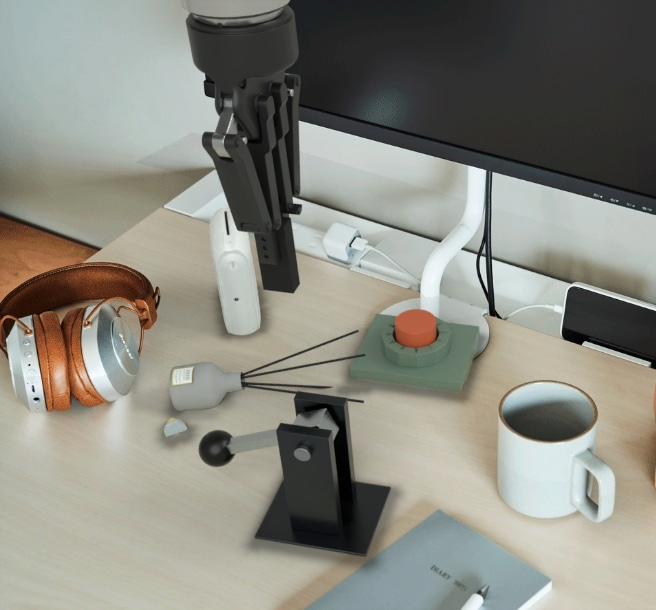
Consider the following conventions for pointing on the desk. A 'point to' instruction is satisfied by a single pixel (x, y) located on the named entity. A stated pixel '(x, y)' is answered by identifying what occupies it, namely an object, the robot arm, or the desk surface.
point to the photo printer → (234, 274)
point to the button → (415, 328)
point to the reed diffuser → (224, 384)
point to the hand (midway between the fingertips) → (281, 286)
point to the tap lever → (255, 438)
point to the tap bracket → (322, 486)
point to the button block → (417, 356)
